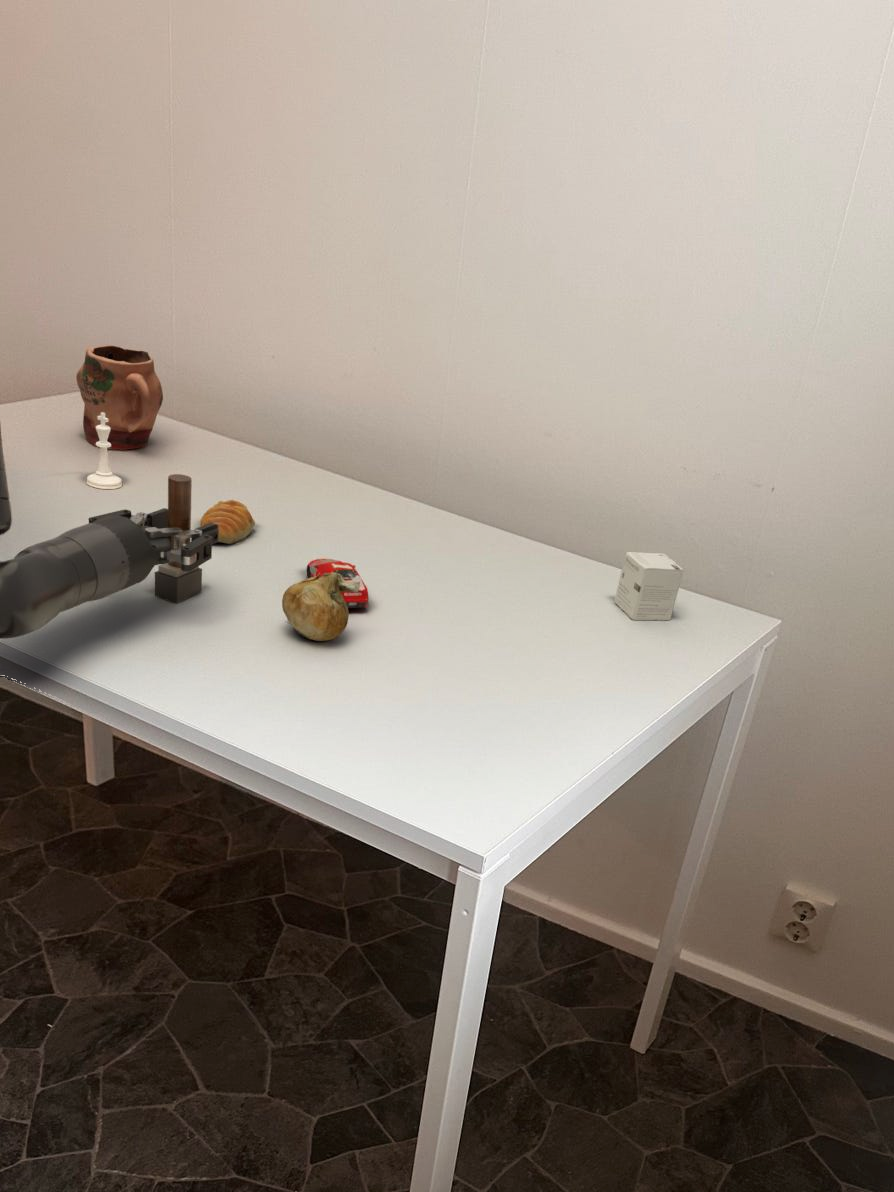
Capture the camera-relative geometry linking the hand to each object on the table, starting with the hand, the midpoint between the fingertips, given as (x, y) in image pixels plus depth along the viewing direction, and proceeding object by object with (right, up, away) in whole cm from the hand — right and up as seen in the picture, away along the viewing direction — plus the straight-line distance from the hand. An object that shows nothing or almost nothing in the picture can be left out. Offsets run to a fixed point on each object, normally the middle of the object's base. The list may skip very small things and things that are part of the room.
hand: (191, 524), depth 139 cm
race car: (+16, -6, +10) cm, 20 cm away
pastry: (-1, +5, +22) cm, 23 cm away
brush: (-2, -8, +2) cm, 8 cm away
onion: (+15, -14, -2) cm, 20 cm away
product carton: (+56, -6, +21) cm, 60 cm away
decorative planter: (-23, +26, +49) cm, 60 cm away
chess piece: (-20, +15, +32) cm, 41 cm away
